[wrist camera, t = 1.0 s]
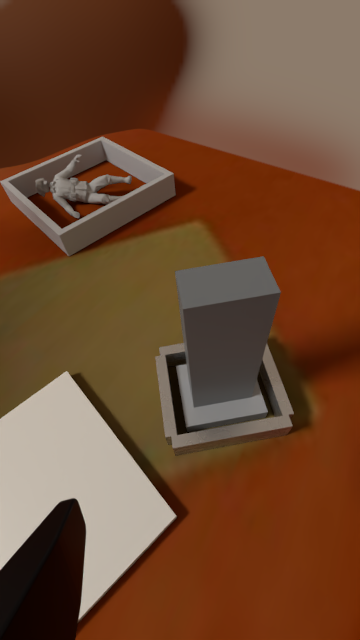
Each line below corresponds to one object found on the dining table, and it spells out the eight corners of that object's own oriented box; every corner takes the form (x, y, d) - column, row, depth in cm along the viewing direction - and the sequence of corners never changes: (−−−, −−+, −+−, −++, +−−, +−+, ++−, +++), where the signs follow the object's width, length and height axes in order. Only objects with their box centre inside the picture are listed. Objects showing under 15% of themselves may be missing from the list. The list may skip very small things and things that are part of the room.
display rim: (175, 195, 42) (173, 173, 40) (69, 256, 36) (59, 235, 34) (107, 156, 50) (102, 136, 48) (11, 201, 44) (0, 181, 42)
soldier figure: (128, 224, 41) (29, 210, 38) (125, 228, 45) (36, 217, 42) (133, 161, 40) (30, 142, 37) (129, 173, 44) (38, 157, 41)
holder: (292, 434, 23) (298, 425, 21) (170, 456, 22) (166, 449, 21) (258, 342, 27) (261, 329, 26) (157, 360, 27) (154, 348, 25)
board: (177, 517, 20) (176, 515, 19) (-79, 790, 14) (-93, 801, 14) (70, 375, 27) (66, 371, 26) (-134, 523, 21) (-144, 522, 21)
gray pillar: (265, 417, 23) (310, 312, 13) (187, 432, 23) (168, 336, 13) (246, 360, 26) (270, 237, 16) (177, 372, 26) (155, 256, 16)
